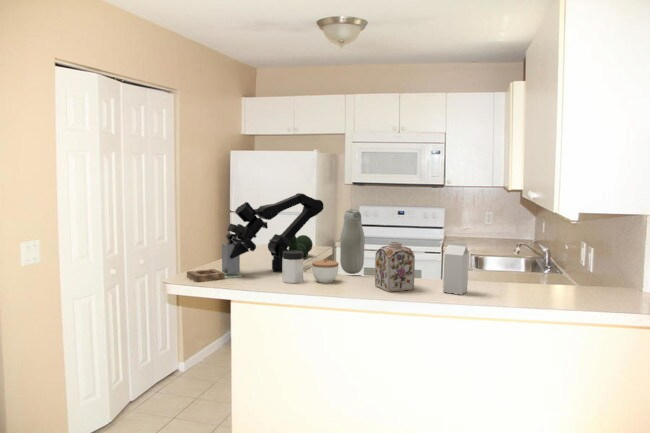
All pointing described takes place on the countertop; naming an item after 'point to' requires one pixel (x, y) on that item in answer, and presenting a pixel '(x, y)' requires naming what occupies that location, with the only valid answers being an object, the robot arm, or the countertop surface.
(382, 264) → the decorative jar
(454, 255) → the milk carton
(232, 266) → the grey rectangular block
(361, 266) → the grey green vase
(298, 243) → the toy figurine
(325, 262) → the lidded jar
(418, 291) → the countertop surface
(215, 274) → the socket block
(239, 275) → the mat
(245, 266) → the countertop surface
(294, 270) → the jar
